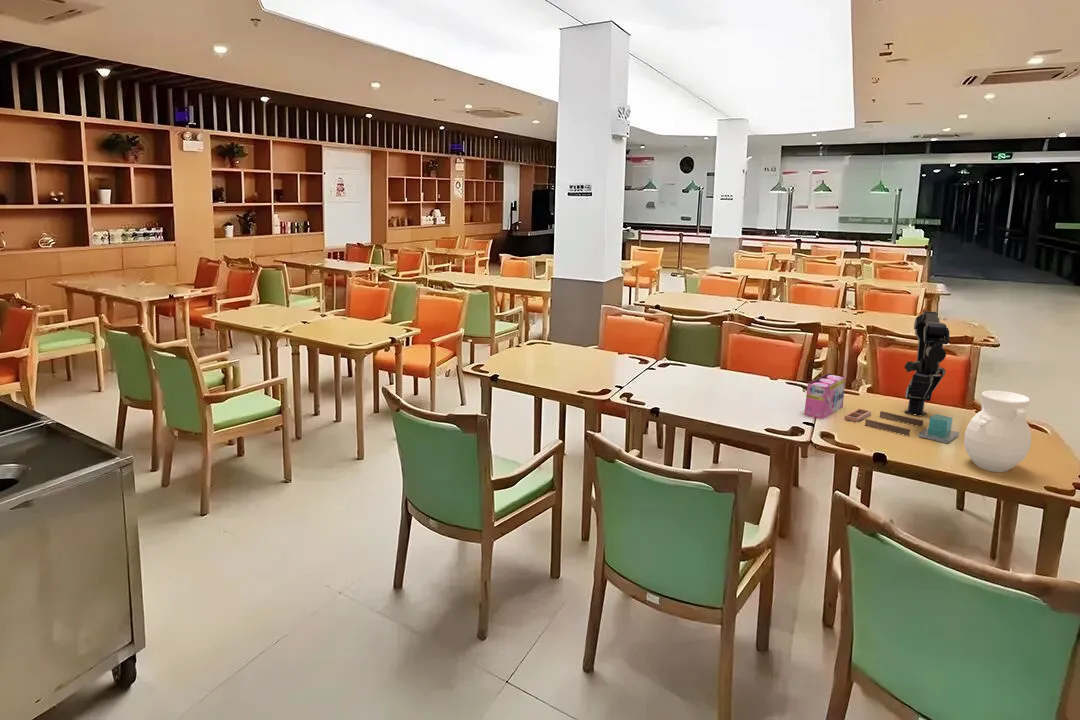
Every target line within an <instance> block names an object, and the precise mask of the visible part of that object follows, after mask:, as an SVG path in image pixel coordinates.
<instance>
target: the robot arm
mask: <svg viewBox="0 0 1080 720" xmlns="http://www.w3.org/2000/svg"><path fill="white" fill-rule="evenodd" d="M913 330H914V335H915V336H916V339H917V340H918V343H917V353H916V361H912V360H911V361H906V363H905V364H904V367H903V368H904V369H905V370H906V372H907V373H910V372H914V374H912V378H911V379H910V381H909V384H908V385H907V387H906V389H905V398H906V400H908V406H907V409H906V410H905V411H903V412H906V413H905V414H908V413H911V414H910V415H913V414H916V415H915V416H918V415H922V416H923V414H924V413H925V414H926V413H927V411H924V408H925V402H926V401H927V402H930V401H931V398H932V396H933V392H934V391H935V390H936V387H937V386H938V385H939V384H940V382H941V381H942V379H943V378H944V376H946V369H945V368H944V367H941V366H940V363H942V362H943V361H944V359H945V358H946V356H947V354H946V350H945V349H944V347H943V346H944V345H948V343H949V342H950V330H949V328H948V327H947V324H946V323H944V322H941V321H940V318H939V312H937V311H930V310H929V311H927V310H925V311H923V313H922V314H920V315H918V316H916V318H915V320H914V324H913ZM925 414H924V415H925Z"/></svg>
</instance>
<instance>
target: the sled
mask: <svg viewBox="0 0 1080 720" xmlns="http://www.w3.org/2000/svg"><path fill="white" fill-rule="evenodd" d="M953 419H954V417H950V416H946V415H941V414H937V413H935V414H933V415H932V416H930V417H929V422H928V426H927V427H926V428H925V429H923V430H922V431H920V432H919V433H918V436H917V437H918V438H924V439H928V440H932V441H936V442H941V443H944V444H949V443H951V441H953V440H955V438H957V437H958V436H959V435H960V431H956V430H952V425H953Z"/></svg>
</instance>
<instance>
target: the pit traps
mask: <svg viewBox="0 0 1080 720" xmlns="http://www.w3.org/2000/svg"><path fill="white" fill-rule="evenodd" d="M871 413H872V410H868V409H864V408H857V409H855V410H853V411H851V412H849V413H846V414H845V415H844V421H847V420H849V421H848V422H851V421H853V422H852V423H855V422H858V423H859V422H861V421H863V420H865V419H867V418H868V416H869V417H871V415H872V414H871ZM866 417H867V418H866ZM864 418H865V419H864ZM862 419H863V420H862ZM860 420H861V421H860Z"/></svg>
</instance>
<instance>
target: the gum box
mask: <svg viewBox="0 0 1080 720" xmlns="http://www.w3.org/2000/svg"><path fill="white" fill-rule="evenodd" d="M845 386H846V376H845V375H843V376H840V375H839V376H838V375H833V374H832V373H829V372H828V373H827V374H823V375H821V377H818V378H816V379H814V380H812V381H809V382H808V383H807V386H806V388H807V389H806V396H805V403H804V404H805V406H804V413H803V415H804V416H808V417H813V418H815V419H821V420H823V419H825V418H827V417H828V416H831V415H832V414H833V413H835V412H836V411H838V410H840V409H841V408H843V407H844V399H845V388H846V387H845Z"/></svg>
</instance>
